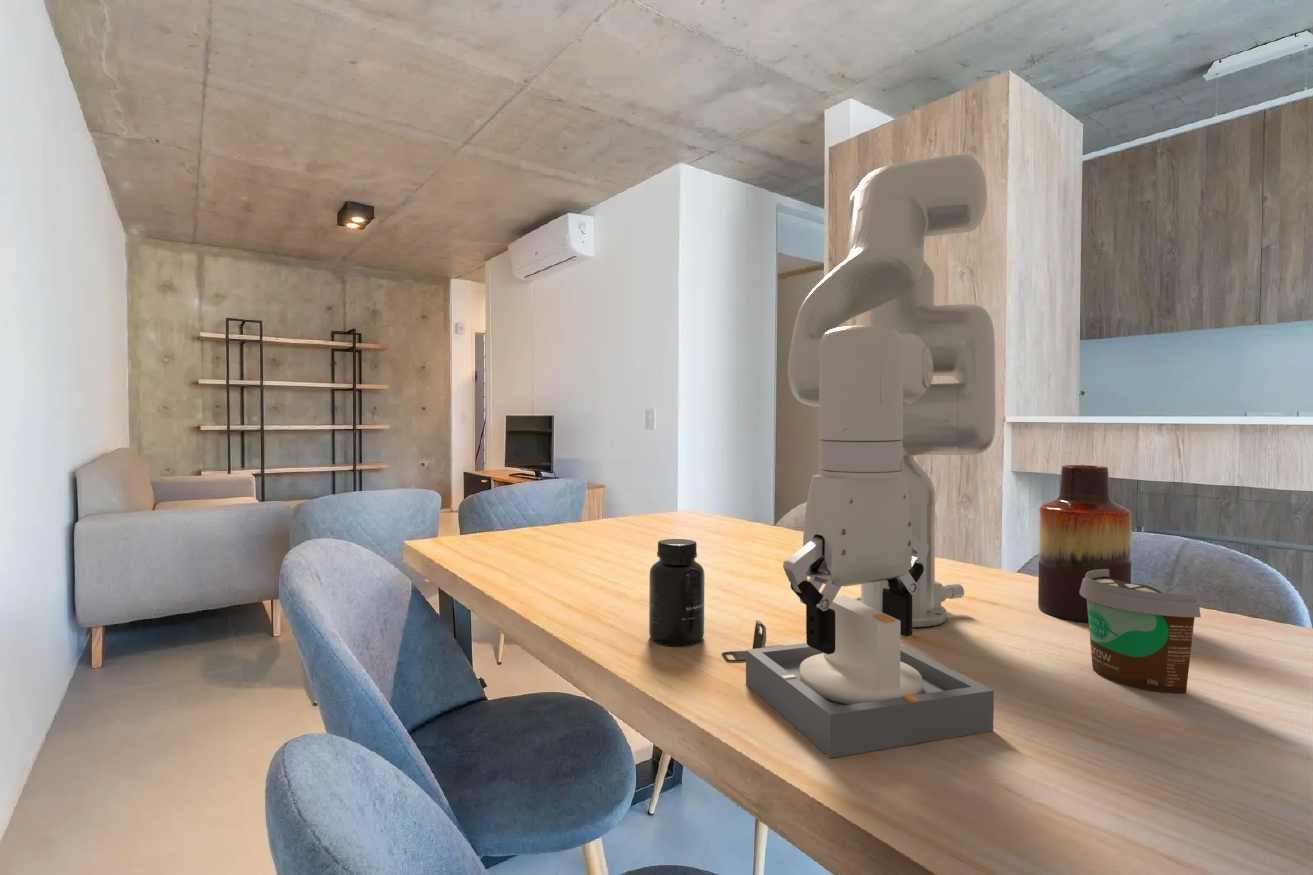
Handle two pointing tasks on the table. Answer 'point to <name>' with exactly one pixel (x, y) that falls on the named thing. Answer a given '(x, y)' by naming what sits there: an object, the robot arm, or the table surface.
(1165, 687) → the food container
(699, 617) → the supplement bottle
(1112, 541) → the vase
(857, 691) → the dial
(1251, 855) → the table surface
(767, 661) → the dial plate
